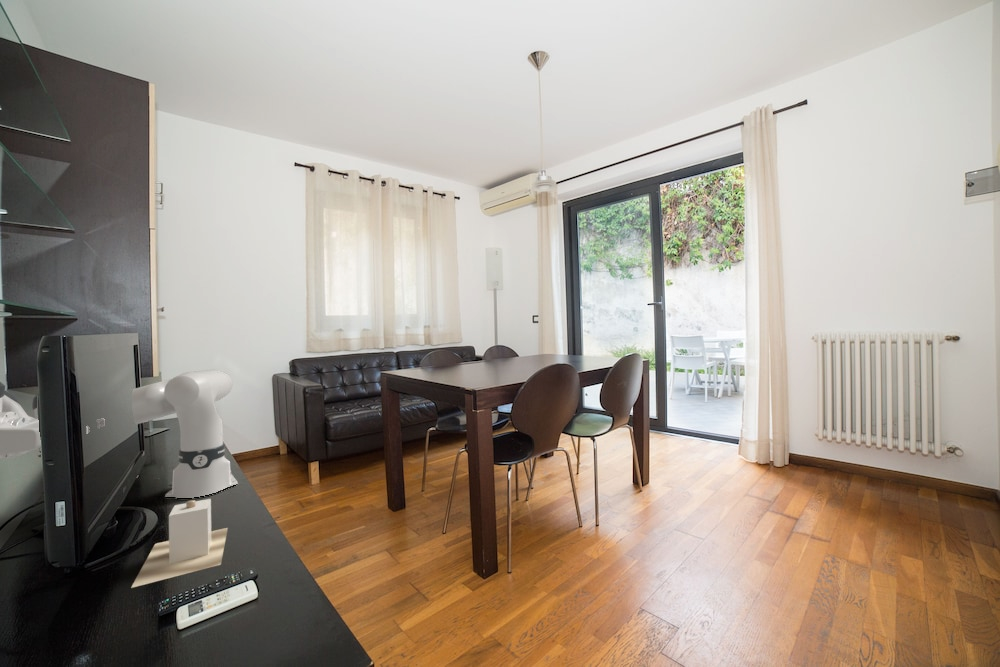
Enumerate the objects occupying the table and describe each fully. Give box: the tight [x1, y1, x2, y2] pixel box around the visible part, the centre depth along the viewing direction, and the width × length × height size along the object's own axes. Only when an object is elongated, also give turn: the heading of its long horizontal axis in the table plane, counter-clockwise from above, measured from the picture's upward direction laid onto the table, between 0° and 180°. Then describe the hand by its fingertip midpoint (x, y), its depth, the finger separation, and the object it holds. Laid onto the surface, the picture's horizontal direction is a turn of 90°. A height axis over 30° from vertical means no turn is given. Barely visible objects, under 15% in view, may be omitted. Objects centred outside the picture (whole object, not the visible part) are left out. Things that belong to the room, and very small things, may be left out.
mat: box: [130, 527, 229, 589], centre depth 87 cm, size 20×14×1 cm
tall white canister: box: [168, 498, 212, 564], centre depth 88 cm, size 7×7×11 cm
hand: (96, 426), depth 84 cm, fingers open, 8 cm apart
